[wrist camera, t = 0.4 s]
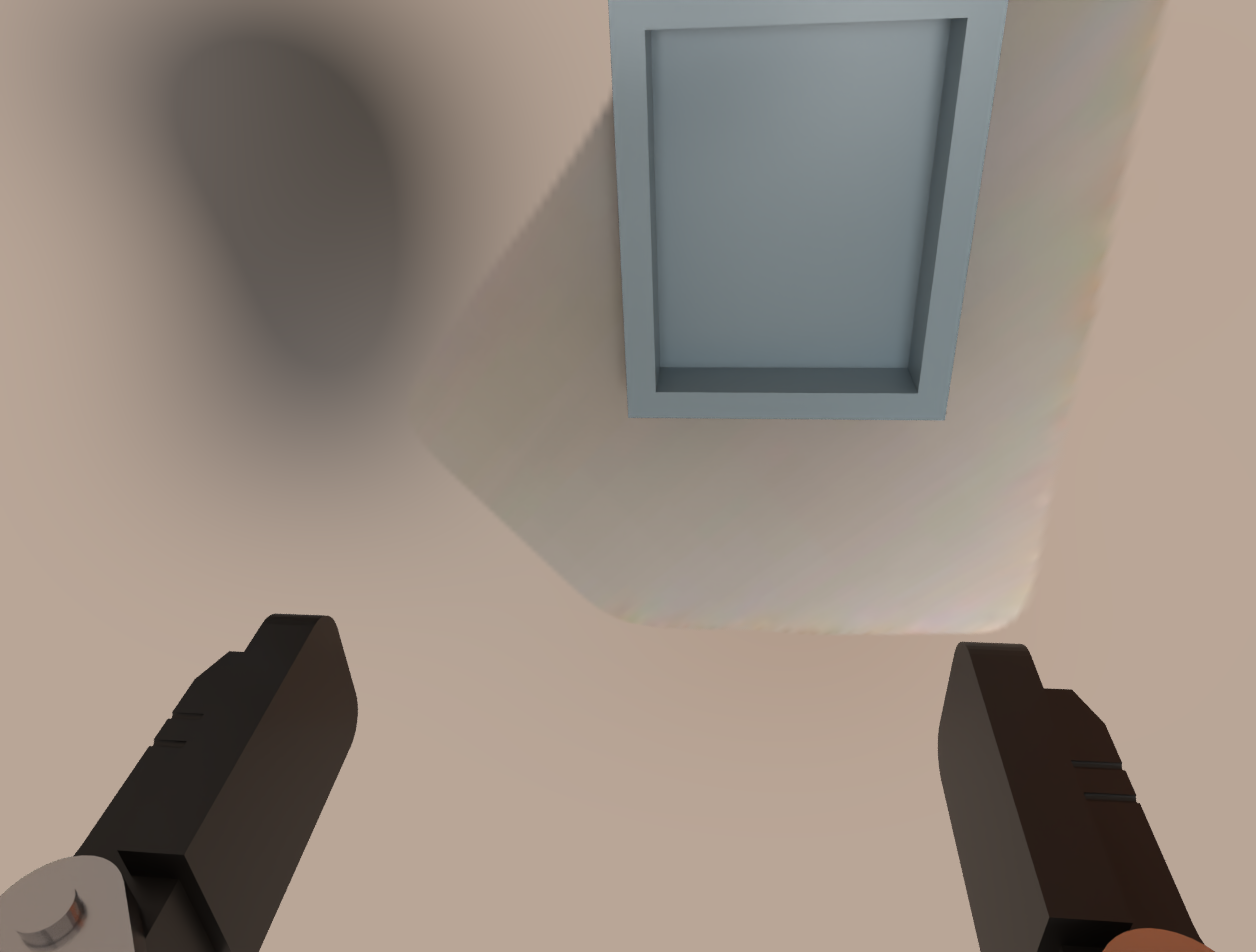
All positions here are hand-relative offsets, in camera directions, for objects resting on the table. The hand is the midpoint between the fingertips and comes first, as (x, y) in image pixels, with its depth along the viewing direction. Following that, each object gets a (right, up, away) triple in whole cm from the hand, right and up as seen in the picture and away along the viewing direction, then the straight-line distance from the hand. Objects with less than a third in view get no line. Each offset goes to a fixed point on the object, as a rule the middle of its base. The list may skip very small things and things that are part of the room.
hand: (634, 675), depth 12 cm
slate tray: (+6, +14, +25) cm, 29 cm away
